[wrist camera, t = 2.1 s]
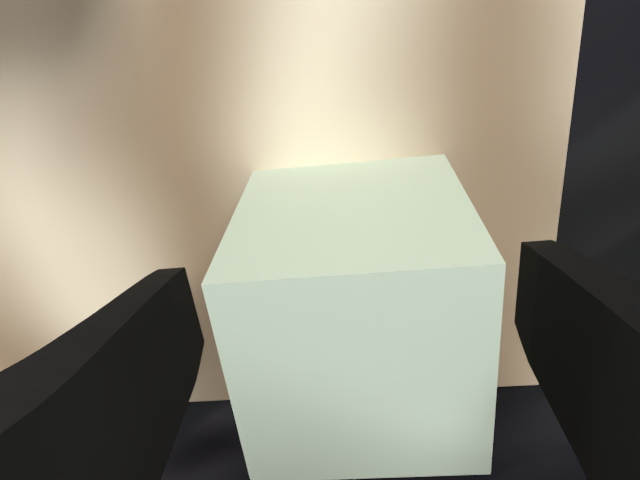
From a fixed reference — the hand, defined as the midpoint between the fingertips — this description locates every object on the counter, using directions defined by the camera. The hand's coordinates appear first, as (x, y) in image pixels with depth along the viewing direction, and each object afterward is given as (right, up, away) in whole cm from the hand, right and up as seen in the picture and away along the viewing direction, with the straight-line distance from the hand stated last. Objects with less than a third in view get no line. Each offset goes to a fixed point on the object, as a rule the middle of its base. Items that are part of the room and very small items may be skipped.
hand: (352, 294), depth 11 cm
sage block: (0, +1, +2) cm, 2 cm away
